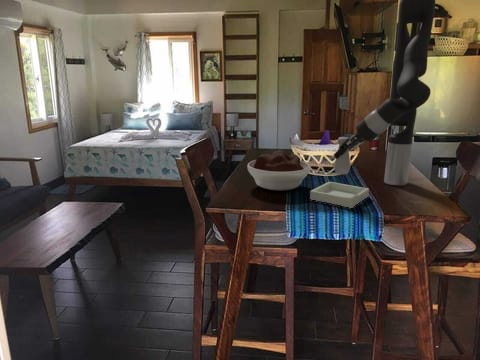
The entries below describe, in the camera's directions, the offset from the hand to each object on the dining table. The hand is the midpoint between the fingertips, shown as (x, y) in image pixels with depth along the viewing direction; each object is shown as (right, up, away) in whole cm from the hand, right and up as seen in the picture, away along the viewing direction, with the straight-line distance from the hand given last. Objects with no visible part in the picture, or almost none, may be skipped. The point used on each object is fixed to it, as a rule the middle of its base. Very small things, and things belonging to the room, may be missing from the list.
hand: (337, 156), depth 146 cm
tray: (+2, -16, +3) cm, 16 cm away
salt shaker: (+2, -6, 0) cm, 6 cm away
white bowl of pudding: (-20, -12, +17) cm, 29 cm away
